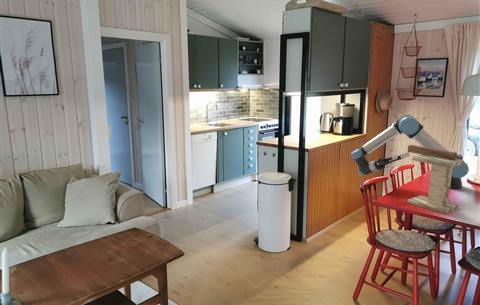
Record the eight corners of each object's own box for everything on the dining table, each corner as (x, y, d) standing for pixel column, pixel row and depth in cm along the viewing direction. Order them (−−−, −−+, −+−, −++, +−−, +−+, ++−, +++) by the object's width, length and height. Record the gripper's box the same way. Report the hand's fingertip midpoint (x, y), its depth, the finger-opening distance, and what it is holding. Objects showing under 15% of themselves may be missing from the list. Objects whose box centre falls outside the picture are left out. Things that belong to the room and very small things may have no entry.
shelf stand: (421, 197, 232) (427, 153, 225) (457, 208, 214) (464, 160, 208) (407, 202, 223) (412, 156, 217) (443, 213, 205) (450, 163, 199)
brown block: (411, 151, 233) (411, 144, 232) (456, 159, 210) (457, 152, 210) (407, 151, 231) (408, 145, 230) (452, 160, 208) (453, 153, 207)
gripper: (390, 167, 259) (416, 158, 242) (367, 172, 245) (393, 163, 228) (386, 157, 261) (411, 147, 243) (364, 162, 247) (389, 151, 230)
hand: (403, 155), depth 236 cm, fingers open, 13 cm apart
